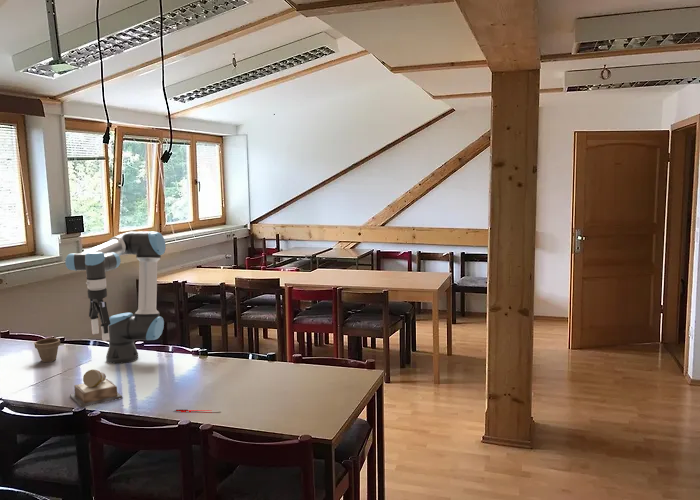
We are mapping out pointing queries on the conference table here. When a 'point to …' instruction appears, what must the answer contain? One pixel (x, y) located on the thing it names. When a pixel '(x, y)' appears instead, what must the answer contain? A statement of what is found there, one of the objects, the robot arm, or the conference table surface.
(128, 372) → the conference table surface
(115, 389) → the plinth
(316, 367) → the conference table surface
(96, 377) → the beige stepped cylinder
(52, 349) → the flower pot
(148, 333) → the robot arm
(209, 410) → the pen
